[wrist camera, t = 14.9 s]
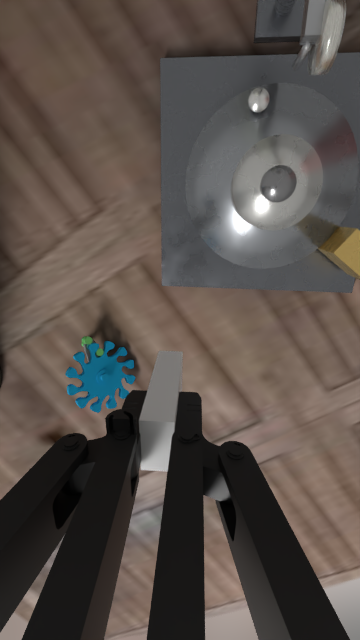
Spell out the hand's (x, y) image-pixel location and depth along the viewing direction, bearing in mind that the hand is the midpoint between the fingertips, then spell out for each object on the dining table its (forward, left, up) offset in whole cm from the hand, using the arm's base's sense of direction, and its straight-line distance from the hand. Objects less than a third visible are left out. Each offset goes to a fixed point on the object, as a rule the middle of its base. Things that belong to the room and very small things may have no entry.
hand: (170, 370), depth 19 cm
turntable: (+10, +11, -21) cm, 26 cm away
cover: (+8, +12, -19) cm, 24 cm away
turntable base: (+8, +12, -22) cm, 27 cm away
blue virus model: (-12, -12, -23) cm, 28 cm away
